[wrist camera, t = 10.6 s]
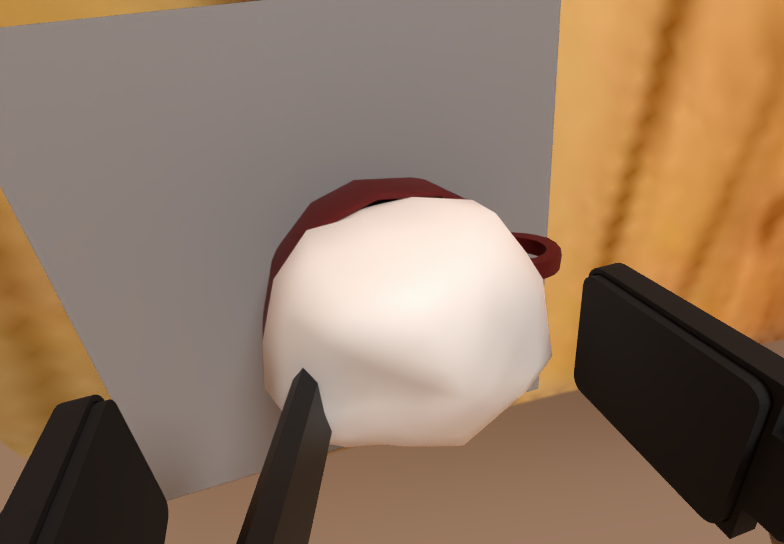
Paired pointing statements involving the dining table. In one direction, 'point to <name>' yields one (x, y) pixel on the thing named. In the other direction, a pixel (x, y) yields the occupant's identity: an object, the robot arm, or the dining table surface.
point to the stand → (247, 176)
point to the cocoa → (391, 333)
